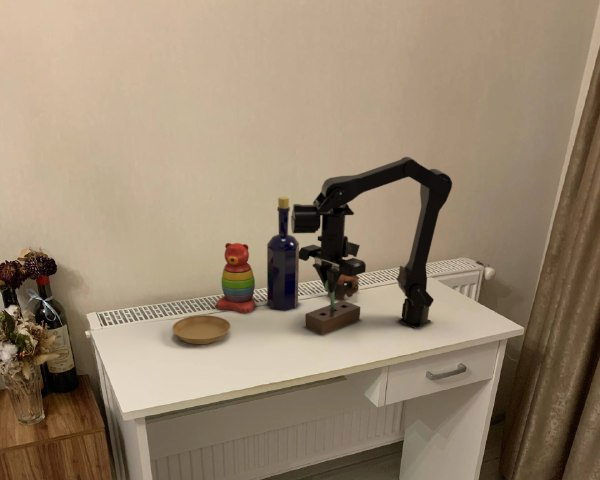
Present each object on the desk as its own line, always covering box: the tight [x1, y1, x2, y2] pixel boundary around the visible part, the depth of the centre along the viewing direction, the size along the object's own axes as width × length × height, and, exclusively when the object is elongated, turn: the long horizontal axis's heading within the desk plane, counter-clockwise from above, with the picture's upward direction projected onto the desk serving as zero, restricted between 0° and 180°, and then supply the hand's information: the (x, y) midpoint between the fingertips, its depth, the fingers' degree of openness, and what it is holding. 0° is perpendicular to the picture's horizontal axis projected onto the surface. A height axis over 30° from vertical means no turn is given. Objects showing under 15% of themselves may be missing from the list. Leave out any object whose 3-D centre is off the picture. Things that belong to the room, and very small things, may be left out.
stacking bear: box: [215, 242, 256, 314], centre depth 171 cm, size 11×10×18 cm
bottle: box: [266, 196, 300, 311], centre depth 169 cm, size 9×9×30 cm
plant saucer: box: [171, 314, 232, 345], centre depth 157 cm, size 15×15×3 cm
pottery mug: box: [327, 274, 360, 301], centre depth 182 cm, size 12×10×8 cm
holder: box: [304, 299, 361, 336], centre depth 165 cm, size 6×15×4 cm, turn 134°
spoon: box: [324, 281, 336, 312], centre depth 161 cm, size 1×4×10 cm, turn 134°
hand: (329, 291), depth 160 cm, fingers closed on spoon, 1 cm apart
